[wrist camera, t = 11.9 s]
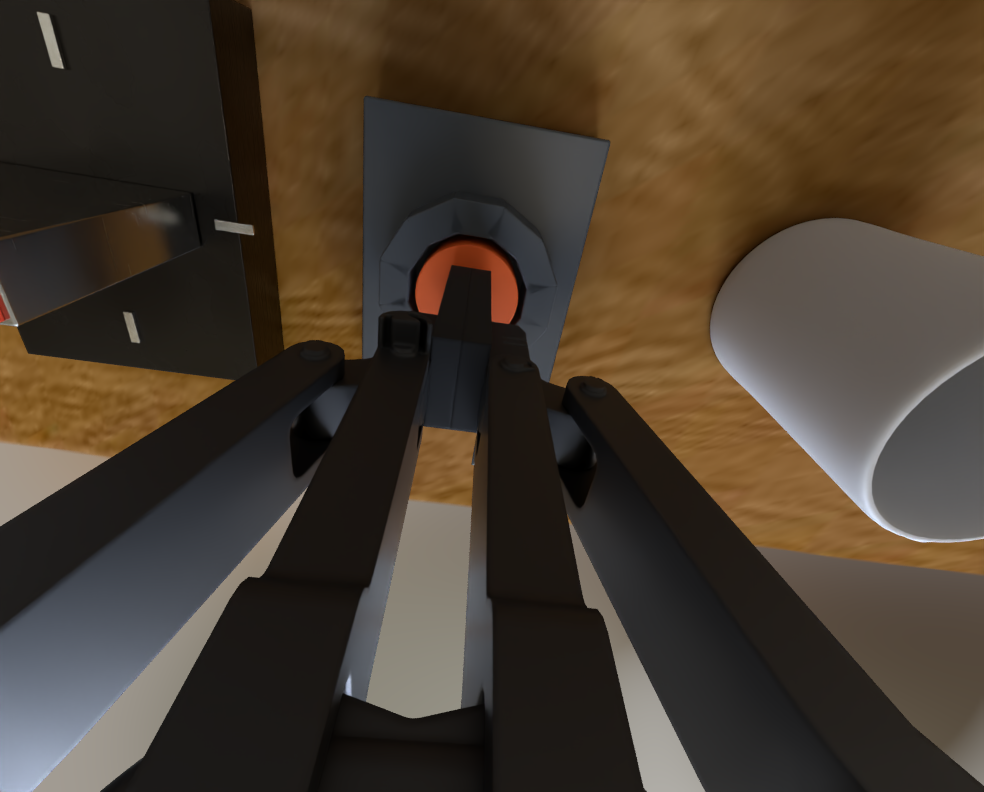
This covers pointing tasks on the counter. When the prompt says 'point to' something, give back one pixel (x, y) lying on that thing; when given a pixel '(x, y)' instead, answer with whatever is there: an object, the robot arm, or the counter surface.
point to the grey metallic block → (81, 236)
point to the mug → (868, 366)
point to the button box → (475, 208)
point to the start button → (473, 256)
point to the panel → (152, 170)
